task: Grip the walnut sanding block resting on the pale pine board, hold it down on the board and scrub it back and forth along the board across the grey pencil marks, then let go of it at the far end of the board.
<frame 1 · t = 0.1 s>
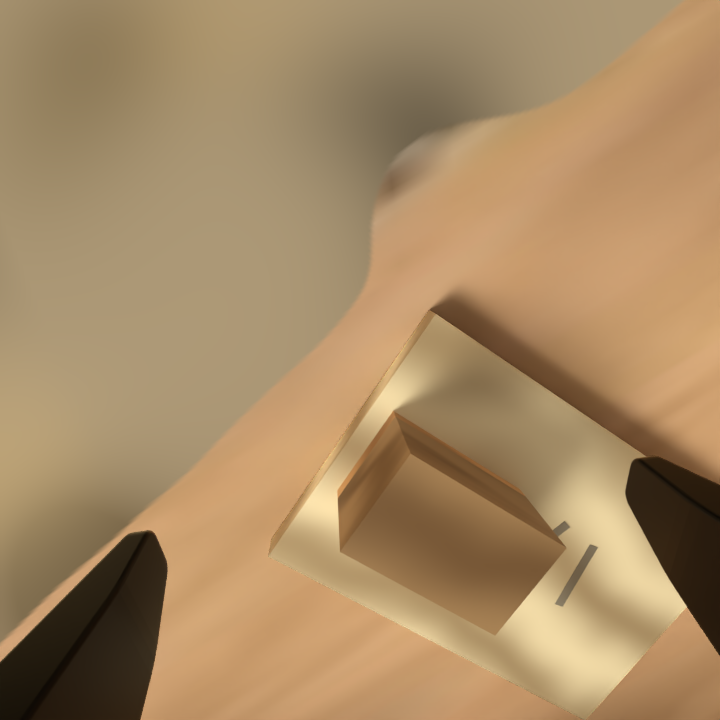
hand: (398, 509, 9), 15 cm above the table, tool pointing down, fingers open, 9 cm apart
pine board: (509, 526, 27), on the table
sanding block: (429, 489, 24), point 2 cm above the table, touching pine board
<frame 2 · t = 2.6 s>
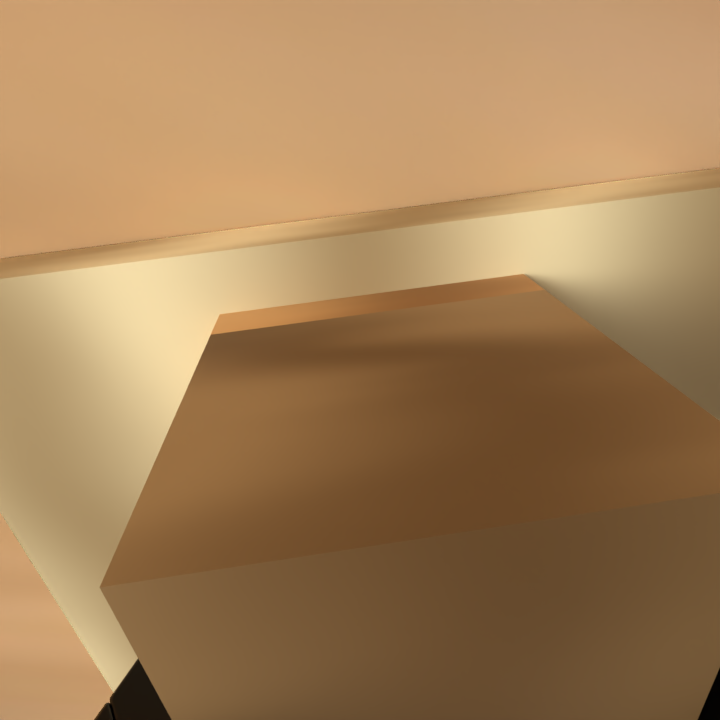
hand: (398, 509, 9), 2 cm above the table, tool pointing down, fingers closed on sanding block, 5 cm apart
pine board: (398, 602, 14), on the table
sanding block: (391, 480, 10), point 2 cm above the table, touching gripper, pine board
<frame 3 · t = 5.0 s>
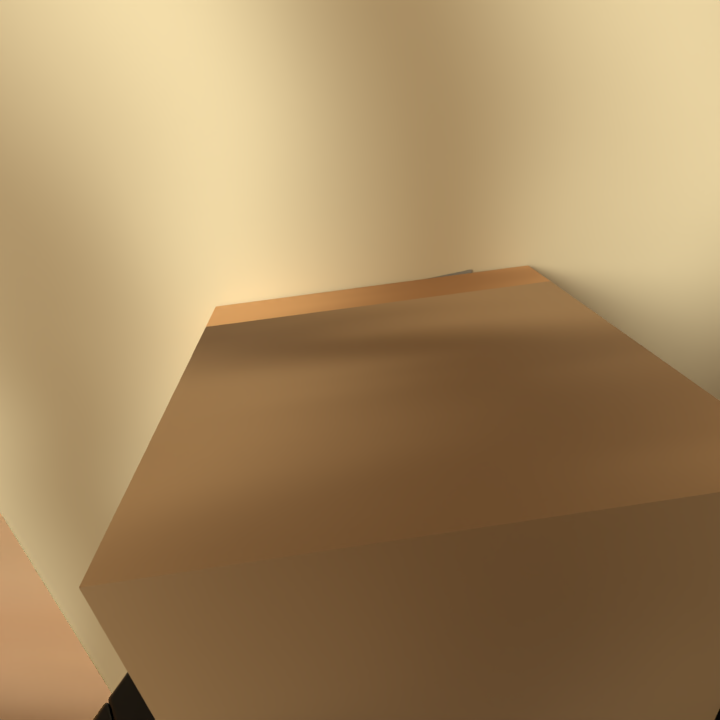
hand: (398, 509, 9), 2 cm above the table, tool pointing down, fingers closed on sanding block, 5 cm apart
pine board: (379, 367, 10), on the table
sanding block: (392, 478, 9), point 2 cm above the table, touching gripper
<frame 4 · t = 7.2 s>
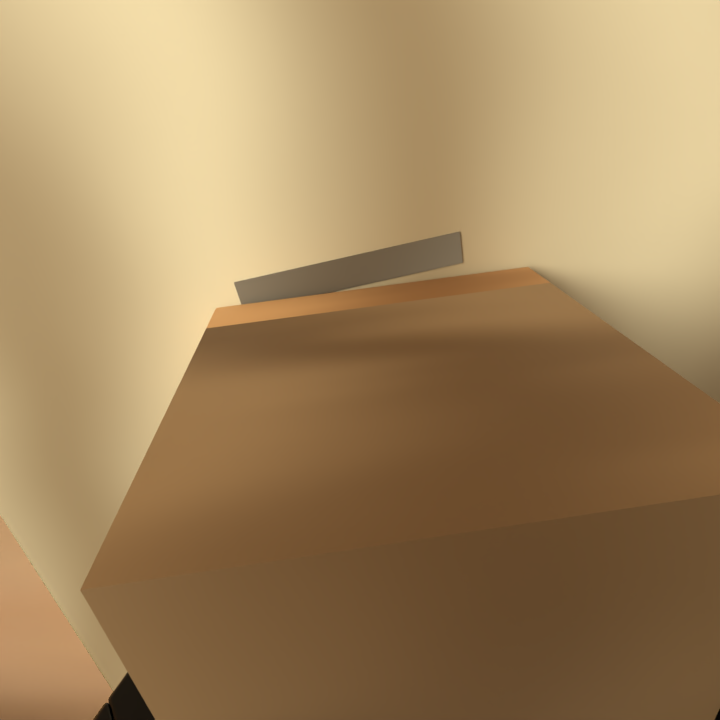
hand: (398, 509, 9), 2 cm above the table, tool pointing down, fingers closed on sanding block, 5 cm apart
pine board: (370, 341, 10), on the table
sanding block: (392, 479, 9), point 2 cm above the table, touching gripper
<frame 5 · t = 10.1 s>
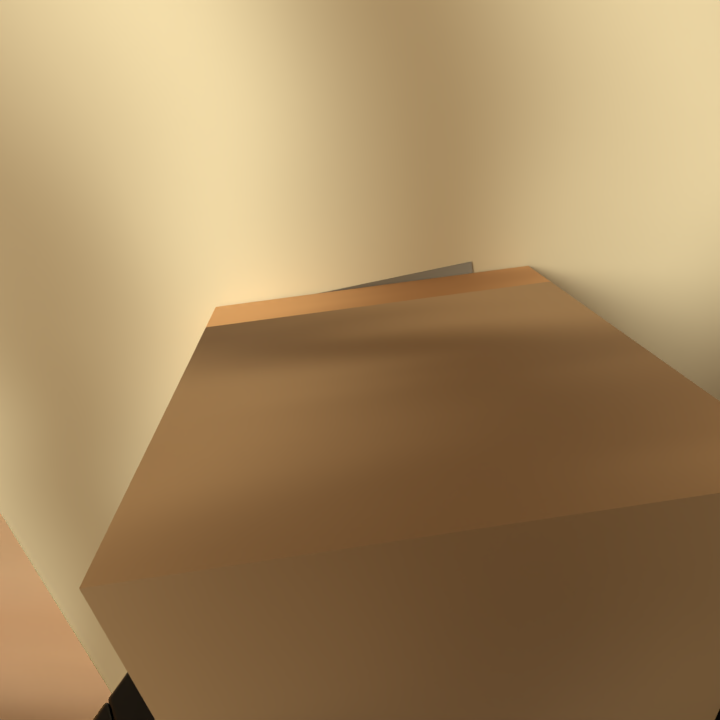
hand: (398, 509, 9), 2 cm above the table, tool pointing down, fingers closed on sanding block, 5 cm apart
pine board: (378, 362, 10), on the table
sanding block: (392, 478, 9), point 2 cm above the table, touching gripper
when the fingers open (2 cm above the table, at t = 12.1 s): sanding block stays where it is, resting on pine board.
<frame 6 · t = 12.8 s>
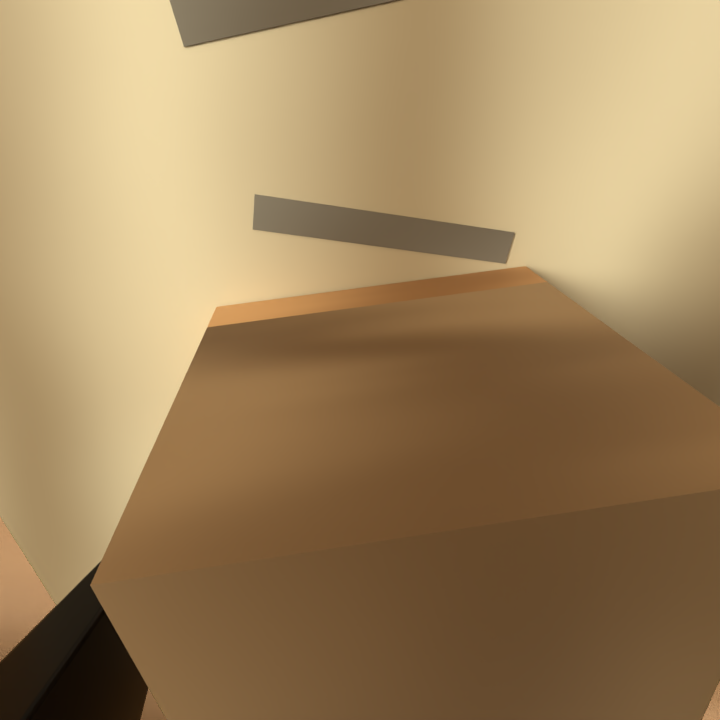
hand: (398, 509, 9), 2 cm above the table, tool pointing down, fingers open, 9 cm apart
pine board: (352, 154, 8), on the table
sanding block: (390, 476, 10), point 2 cm above the table, touching pine board
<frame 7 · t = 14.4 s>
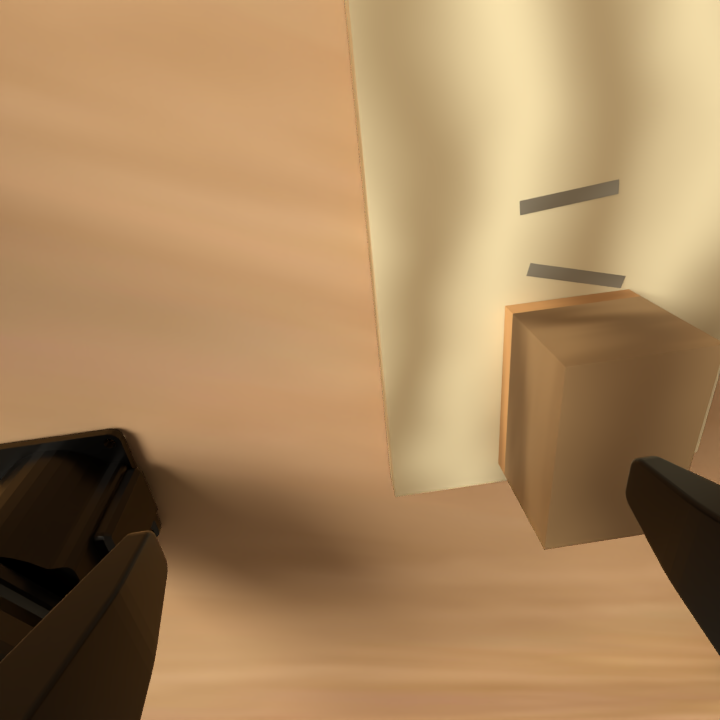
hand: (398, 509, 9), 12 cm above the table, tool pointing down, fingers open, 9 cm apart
pine board: (553, 241, 19), on the table
sanding block: (557, 383, 21), point 2 cm above the table, touching pine board
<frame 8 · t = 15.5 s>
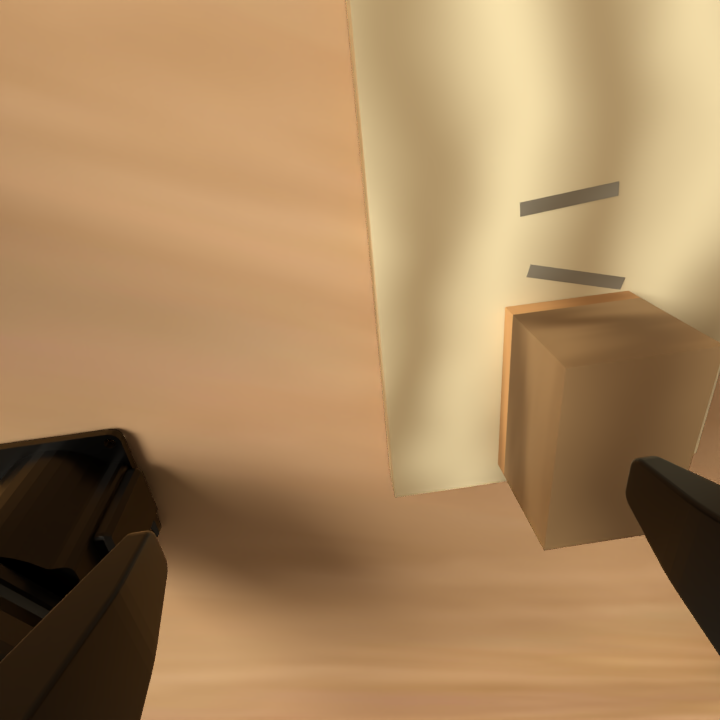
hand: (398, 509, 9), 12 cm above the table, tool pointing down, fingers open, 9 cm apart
pine board: (553, 243, 19), on the table
sanding block: (557, 384, 21), point 2 cm above the table, touching pine board
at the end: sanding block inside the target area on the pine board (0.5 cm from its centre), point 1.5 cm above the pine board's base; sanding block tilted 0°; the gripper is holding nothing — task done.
